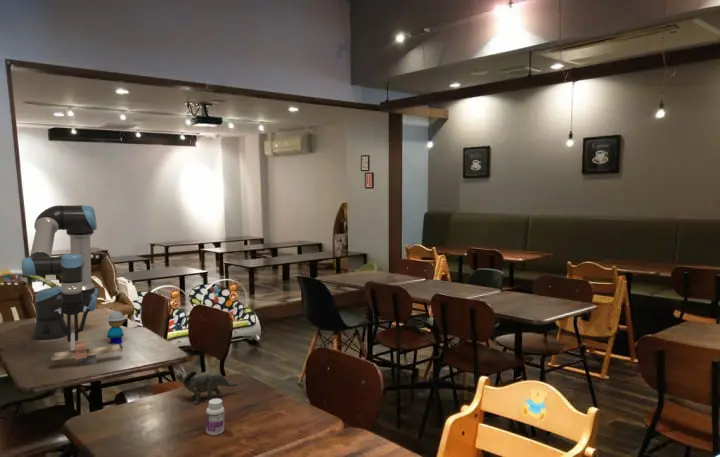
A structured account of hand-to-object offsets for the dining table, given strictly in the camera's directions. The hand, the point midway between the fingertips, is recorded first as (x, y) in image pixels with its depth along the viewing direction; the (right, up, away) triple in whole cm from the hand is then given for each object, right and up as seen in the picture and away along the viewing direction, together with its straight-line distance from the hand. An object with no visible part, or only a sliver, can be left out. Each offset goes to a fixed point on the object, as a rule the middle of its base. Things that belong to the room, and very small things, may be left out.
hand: (72, 348), depth 210 cm
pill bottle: (+74, -13, -53) cm, 92 cm away
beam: (+4, -7, +3) cm, 9 cm away
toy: (+2, -5, +33) cm, 33 cm away
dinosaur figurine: (+64, -11, -30) cm, 71 cm away
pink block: (+2, -3, +2) cm, 4 cm away
